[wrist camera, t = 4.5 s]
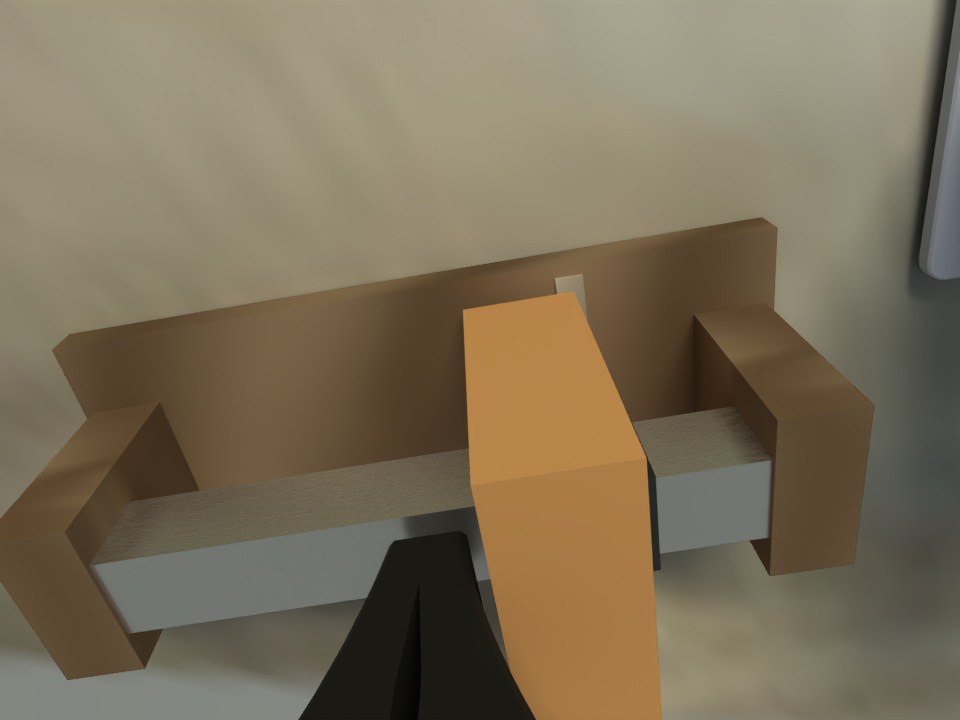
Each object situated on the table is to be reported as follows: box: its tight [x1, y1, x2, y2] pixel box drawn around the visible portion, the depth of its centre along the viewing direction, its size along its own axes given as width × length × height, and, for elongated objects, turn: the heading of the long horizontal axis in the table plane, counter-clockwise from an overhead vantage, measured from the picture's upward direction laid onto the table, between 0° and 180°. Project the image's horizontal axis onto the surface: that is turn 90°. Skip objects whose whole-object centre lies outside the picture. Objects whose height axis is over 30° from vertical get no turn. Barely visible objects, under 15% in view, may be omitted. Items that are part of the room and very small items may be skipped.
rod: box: [89, 406, 773, 633], centre depth 13 cm, size 16×2×2 cm, turn 99°
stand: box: [0, 218, 874, 680], centre depth 15 cm, size 16×7×5 cm, turn 99°
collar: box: [463, 291, 662, 720], centre depth 13 cm, size 2×6×6 cm, turn 9°
